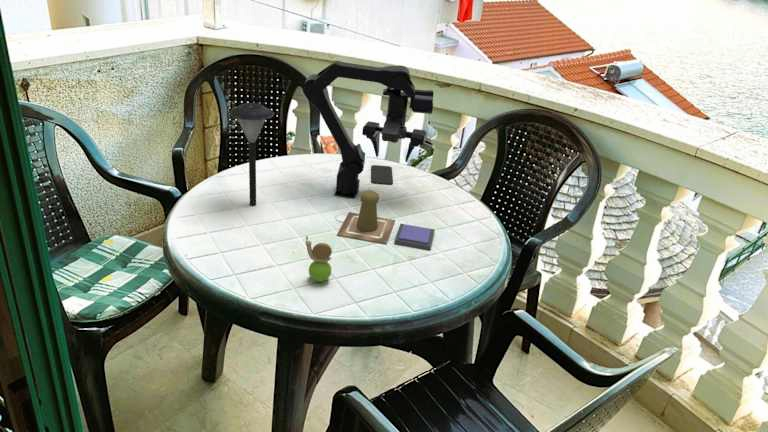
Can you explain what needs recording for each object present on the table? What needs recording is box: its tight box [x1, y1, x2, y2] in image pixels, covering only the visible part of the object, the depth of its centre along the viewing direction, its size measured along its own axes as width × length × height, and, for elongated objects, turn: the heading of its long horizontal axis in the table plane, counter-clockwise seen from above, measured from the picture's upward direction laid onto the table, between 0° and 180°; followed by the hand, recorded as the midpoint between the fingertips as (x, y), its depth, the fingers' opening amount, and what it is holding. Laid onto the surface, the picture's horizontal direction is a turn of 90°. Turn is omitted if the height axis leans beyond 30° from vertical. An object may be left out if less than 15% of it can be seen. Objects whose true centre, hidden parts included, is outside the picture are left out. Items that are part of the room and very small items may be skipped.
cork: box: [357, 189, 380, 232], centre depth 162 cm, size 6×6×11 cm
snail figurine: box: [305, 235, 333, 283], centre depth 137 cm, size 5×6×12 cm
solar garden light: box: [228, 102, 275, 207], centre depth 163 cm, size 12×12×30 cm
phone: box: [370, 164, 394, 186], centre depth 198 cm, size 7×1×15 cm
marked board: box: [336, 211, 396, 245], centre depth 164 cm, size 14×14×1 cm
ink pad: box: [393, 223, 436, 251], centre depth 161 cm, size 10×10×2 cm
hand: (391, 159), depth 177 cm, fingers open, 9 cm apart
